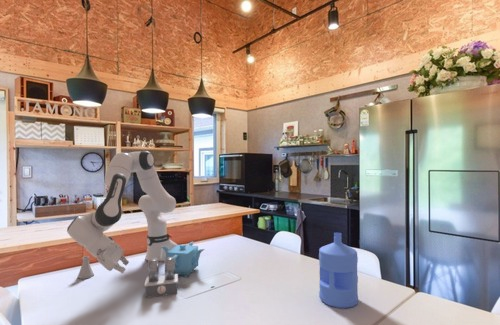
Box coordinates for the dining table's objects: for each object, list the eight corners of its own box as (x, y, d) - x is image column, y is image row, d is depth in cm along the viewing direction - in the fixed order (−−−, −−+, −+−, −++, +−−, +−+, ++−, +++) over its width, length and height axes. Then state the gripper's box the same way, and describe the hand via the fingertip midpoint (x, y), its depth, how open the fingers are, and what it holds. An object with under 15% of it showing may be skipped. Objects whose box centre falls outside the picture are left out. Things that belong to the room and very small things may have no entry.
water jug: (328, 288, 130) (327, 227, 131) (363, 298, 120) (362, 232, 121) (312, 301, 118) (312, 234, 119) (350, 313, 108) (349, 240, 109)
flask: (74, 277, 145) (74, 258, 145) (88, 273, 151) (88, 254, 151) (83, 280, 141) (83, 260, 141) (96, 275, 148) (96, 256, 148)
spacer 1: (155, 277, 130) (155, 257, 130) (160, 279, 127) (160, 259, 127) (146, 280, 127) (146, 260, 127) (151, 282, 124) (151, 262, 124)
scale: (177, 285, 134) (177, 273, 134) (178, 294, 126) (177, 281, 126) (146, 289, 131) (146, 277, 131) (144, 298, 122) (144, 285, 122)
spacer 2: (171, 275, 132) (171, 256, 132) (176, 278, 129) (176, 258, 129) (163, 278, 129) (162, 258, 129) (168, 281, 126) (167, 260, 126)
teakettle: (171, 282, 138) (171, 252, 138) (160, 270, 154) (160, 243, 154) (207, 274, 149) (206, 246, 149) (193, 263, 164) (192, 238, 164)
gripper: (101, 248, 112) (127, 270, 115) (111, 235, 132) (134, 254, 134) (88, 260, 111) (115, 282, 114) (101, 246, 131) (124, 265, 133)
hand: (126, 267), depth 124 cm, fingers open, 8 cm apart
